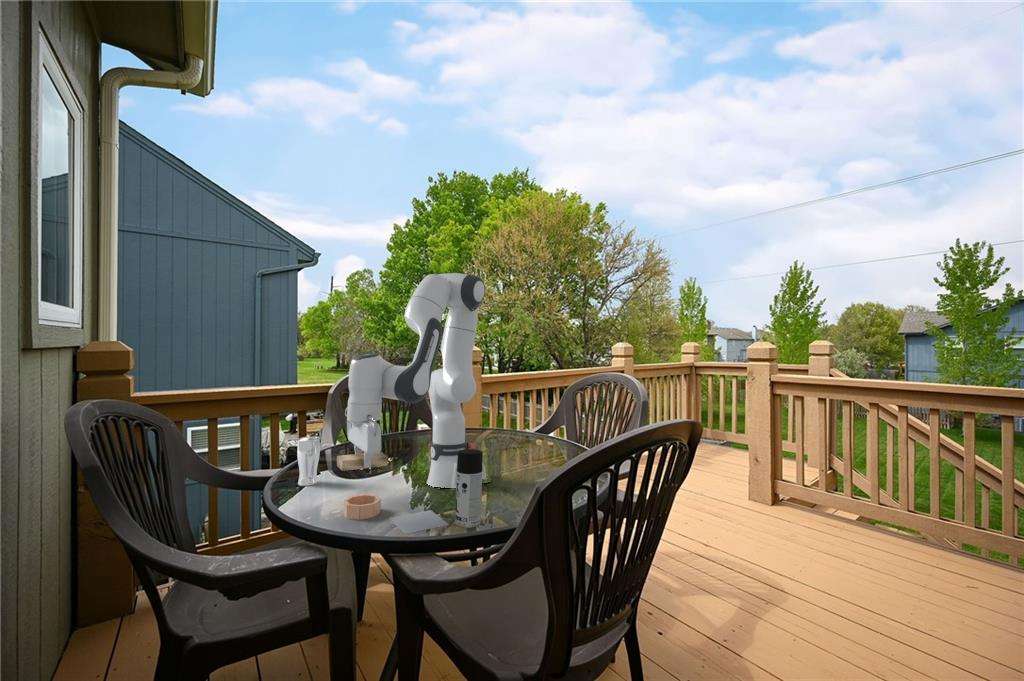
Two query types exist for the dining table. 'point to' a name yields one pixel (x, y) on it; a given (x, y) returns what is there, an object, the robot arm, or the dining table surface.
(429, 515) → the mat
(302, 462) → the beer glass
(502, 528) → the dining table surface
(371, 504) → the bowl
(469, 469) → the spray can
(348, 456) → the board
